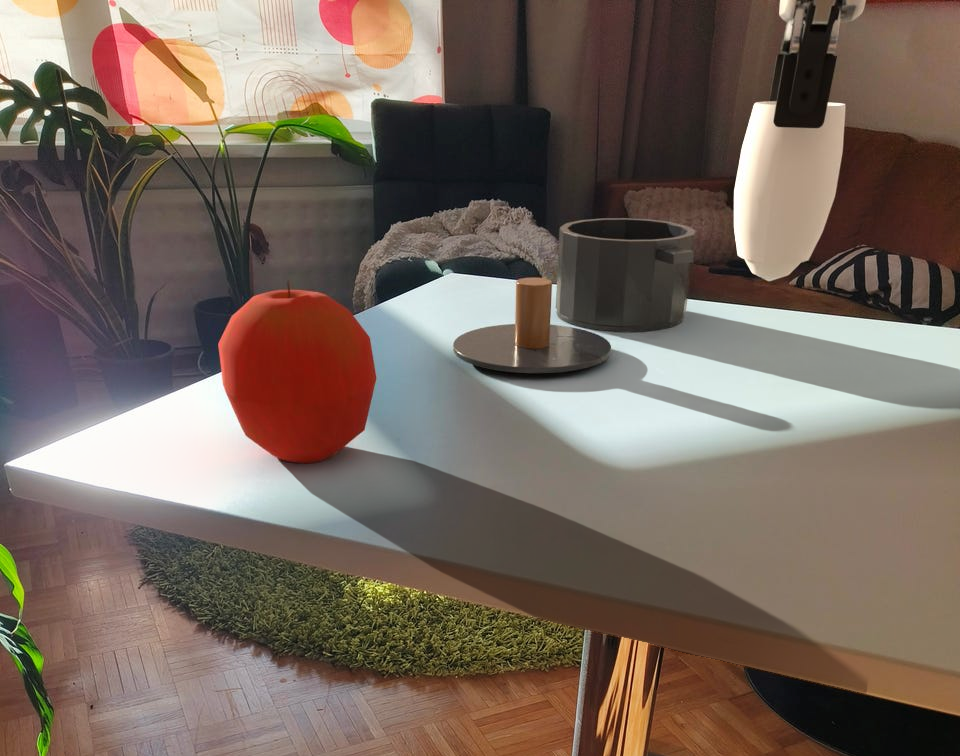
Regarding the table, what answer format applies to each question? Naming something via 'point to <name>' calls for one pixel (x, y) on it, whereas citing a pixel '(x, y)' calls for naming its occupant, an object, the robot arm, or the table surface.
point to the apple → (298, 373)
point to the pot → (624, 273)
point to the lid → (532, 338)
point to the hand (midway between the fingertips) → (792, 122)
